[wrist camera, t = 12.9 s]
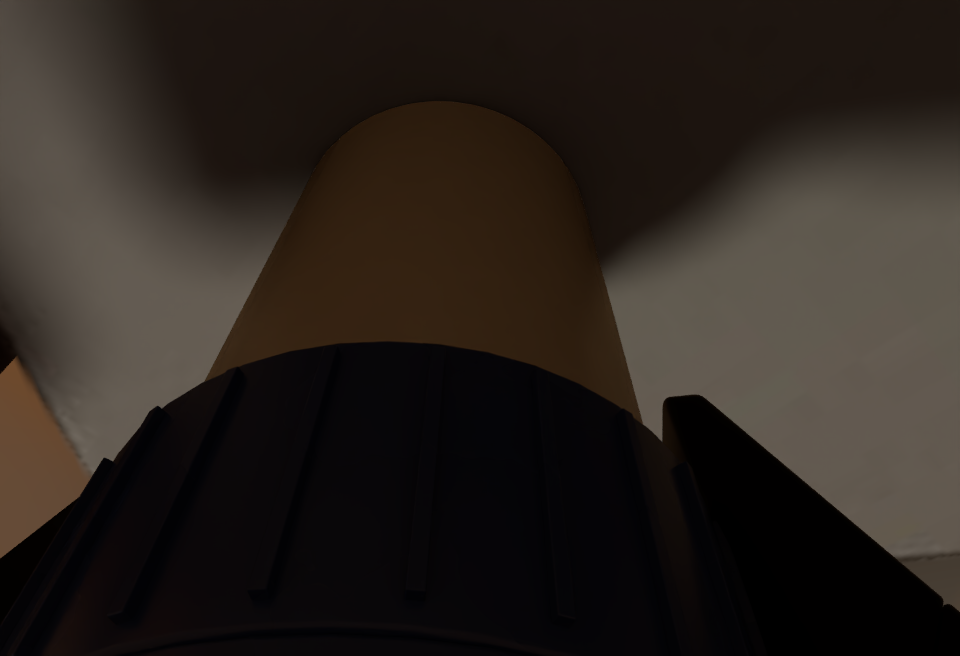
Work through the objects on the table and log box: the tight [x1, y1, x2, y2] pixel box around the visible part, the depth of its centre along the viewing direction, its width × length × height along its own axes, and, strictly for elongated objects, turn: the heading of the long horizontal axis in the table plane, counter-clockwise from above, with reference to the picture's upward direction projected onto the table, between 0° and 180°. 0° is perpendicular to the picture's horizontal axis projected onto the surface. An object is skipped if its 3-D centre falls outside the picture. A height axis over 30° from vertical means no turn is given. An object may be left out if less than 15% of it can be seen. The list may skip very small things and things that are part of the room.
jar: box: [204, 101, 643, 424], centre depth 9 cm, size 5×5×10 cm
